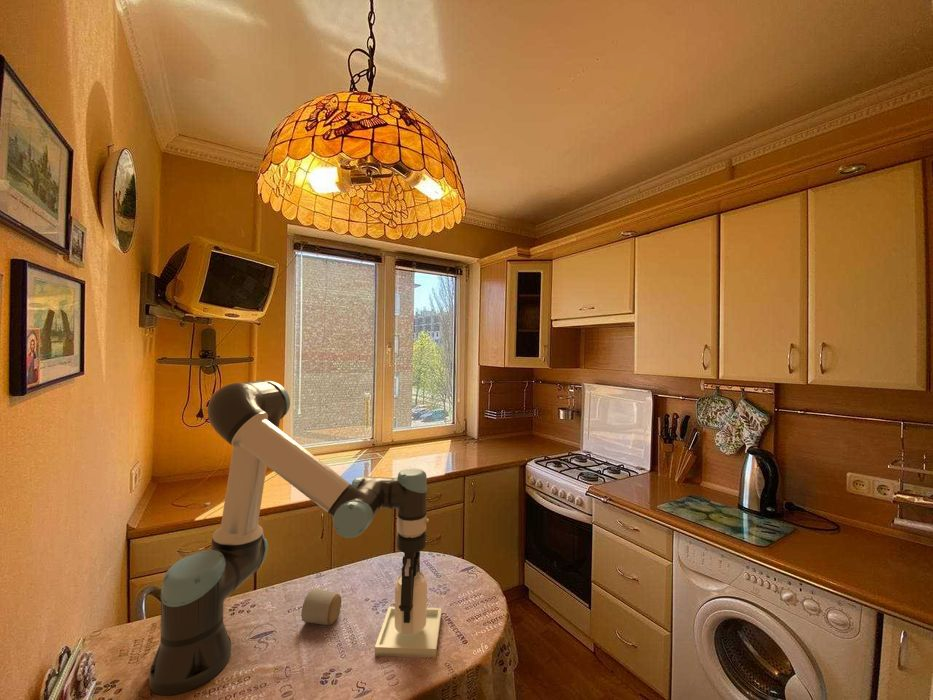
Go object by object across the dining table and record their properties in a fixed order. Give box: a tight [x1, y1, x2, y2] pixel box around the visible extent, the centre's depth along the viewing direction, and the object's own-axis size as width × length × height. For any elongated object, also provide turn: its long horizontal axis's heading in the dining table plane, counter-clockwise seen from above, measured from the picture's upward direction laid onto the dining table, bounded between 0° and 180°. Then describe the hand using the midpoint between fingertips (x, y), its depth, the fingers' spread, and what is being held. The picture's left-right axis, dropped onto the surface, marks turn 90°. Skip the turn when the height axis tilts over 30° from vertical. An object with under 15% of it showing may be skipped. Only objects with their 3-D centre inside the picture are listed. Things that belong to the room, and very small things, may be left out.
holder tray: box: [374, 606, 443, 659], centre depth 97 cm, size 15×15×2 cm
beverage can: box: [394, 571, 428, 635], centre depth 97 cm, size 8×8×12 cm
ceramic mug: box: [301, 588, 342, 626], centre depth 103 cm, size 11×8×8 cm
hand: (410, 620), depth 97 cm, fingers closed on beverage can, 8 cm apart
